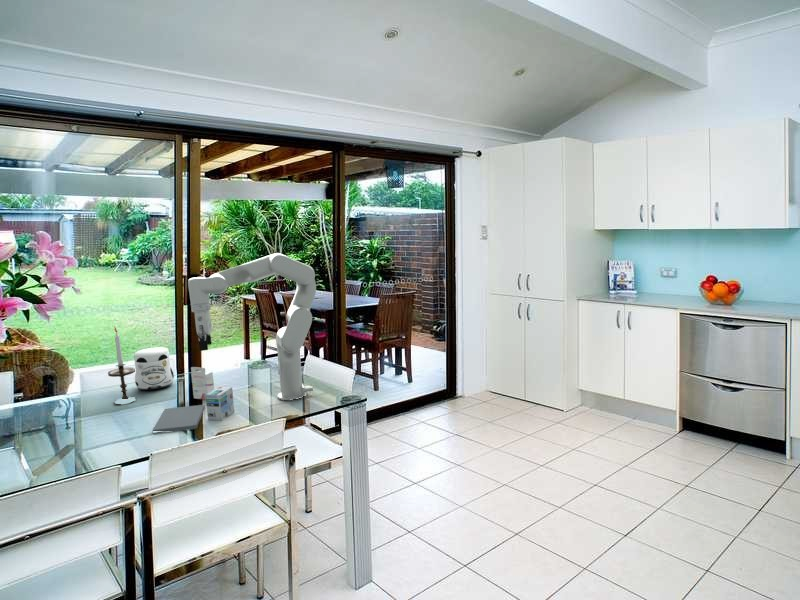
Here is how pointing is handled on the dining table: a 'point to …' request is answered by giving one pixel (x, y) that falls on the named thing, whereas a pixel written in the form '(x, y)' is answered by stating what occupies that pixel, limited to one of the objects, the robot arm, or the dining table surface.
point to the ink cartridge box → (201, 382)
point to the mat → (180, 418)
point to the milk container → (153, 368)
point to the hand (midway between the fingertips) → (205, 347)
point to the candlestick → (121, 367)
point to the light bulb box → (219, 403)
